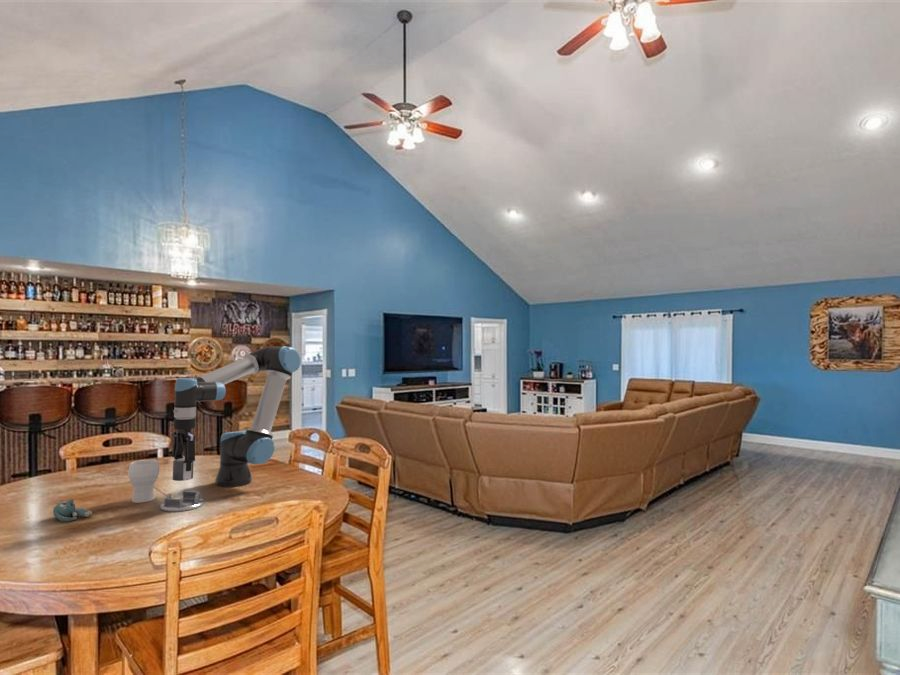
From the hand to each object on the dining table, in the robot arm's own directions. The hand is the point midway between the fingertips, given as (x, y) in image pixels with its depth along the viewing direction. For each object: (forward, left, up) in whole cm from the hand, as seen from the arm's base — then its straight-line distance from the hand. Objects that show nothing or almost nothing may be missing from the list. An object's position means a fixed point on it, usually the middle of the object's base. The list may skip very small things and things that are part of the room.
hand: (182, 477), depth 197 cm
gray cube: (0, 0, 0) cm, 0 cm away
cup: (-19, -7, -11) cm, 23 cm away
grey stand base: (0, 0, -11) cm, 11 cm away
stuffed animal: (-14, -31, -11) cm, 36 cm away
